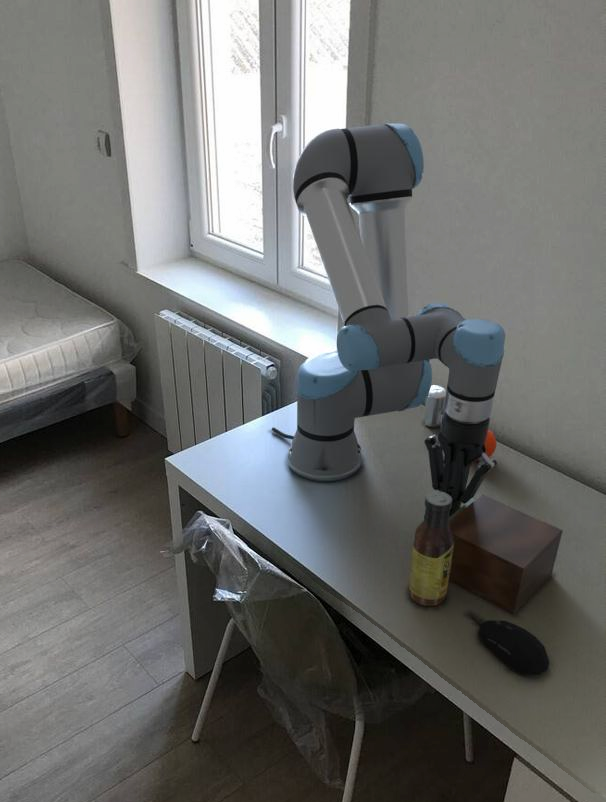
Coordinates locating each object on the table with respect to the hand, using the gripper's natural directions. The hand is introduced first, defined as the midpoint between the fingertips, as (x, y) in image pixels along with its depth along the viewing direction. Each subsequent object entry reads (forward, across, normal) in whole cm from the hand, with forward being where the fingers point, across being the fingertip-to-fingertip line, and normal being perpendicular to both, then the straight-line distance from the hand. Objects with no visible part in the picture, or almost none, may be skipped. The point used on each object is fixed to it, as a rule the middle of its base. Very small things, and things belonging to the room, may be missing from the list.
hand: (446, 525), depth 141 cm
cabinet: (+2, +11, -3) cm, 12 cm away
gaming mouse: (+3, +21, -16) cm, 27 cm away
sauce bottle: (+3, +6, -15) cm, 16 cm away
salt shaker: (+3, -24, +32) cm, 40 cm away
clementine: (+3, -10, +26) cm, 28 cm away
